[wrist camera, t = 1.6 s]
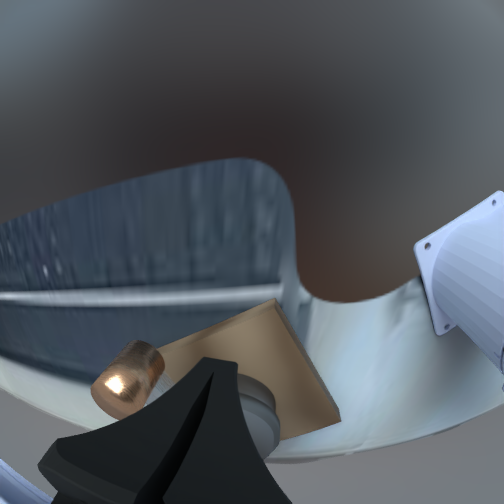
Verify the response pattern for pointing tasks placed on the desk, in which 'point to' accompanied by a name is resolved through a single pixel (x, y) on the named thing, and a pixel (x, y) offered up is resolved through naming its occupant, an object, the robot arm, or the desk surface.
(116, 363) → the hammer
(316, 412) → the wooden base with cylinder
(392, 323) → the desk surface
